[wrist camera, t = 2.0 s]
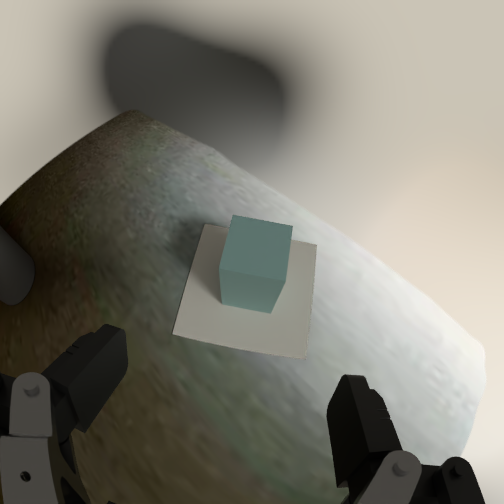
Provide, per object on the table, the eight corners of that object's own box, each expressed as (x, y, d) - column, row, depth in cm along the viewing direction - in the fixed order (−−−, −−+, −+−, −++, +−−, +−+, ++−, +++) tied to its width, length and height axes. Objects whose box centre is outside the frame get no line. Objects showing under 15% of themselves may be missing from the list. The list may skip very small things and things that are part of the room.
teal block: (221, 304, 33) (218, 268, 24) (232, 261, 36) (232, 214, 27) (270, 313, 33) (285, 281, 24) (277, 269, 36) (292, 226, 27)
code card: (172, 334, 31) (172, 333, 31) (204, 224, 39) (204, 223, 39) (305, 359, 30) (305, 359, 30) (316, 245, 38) (316, 244, 38)
